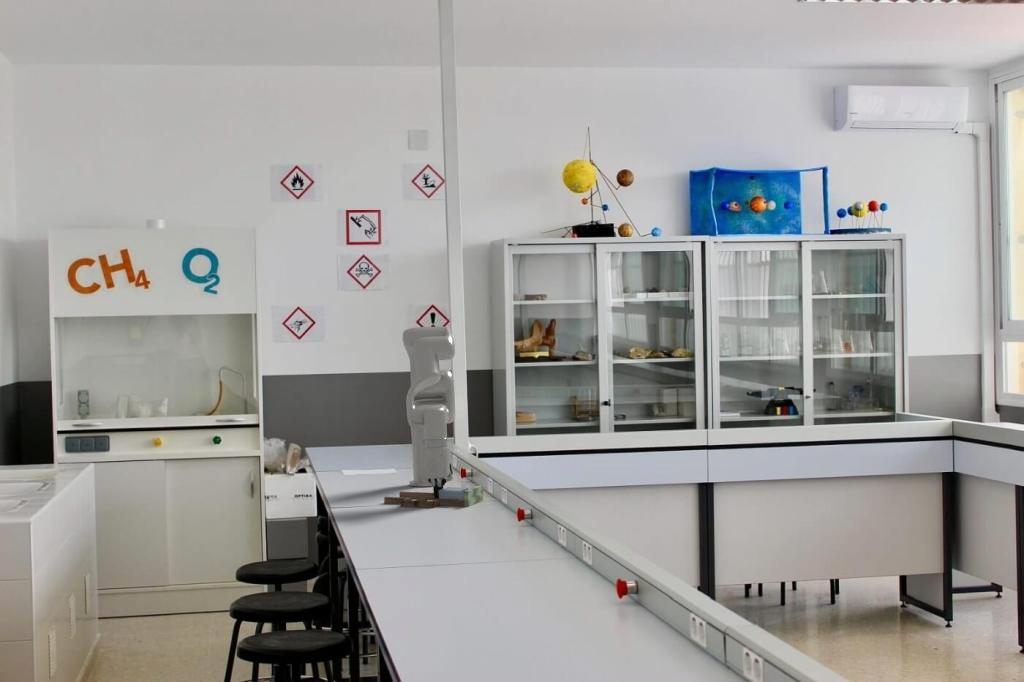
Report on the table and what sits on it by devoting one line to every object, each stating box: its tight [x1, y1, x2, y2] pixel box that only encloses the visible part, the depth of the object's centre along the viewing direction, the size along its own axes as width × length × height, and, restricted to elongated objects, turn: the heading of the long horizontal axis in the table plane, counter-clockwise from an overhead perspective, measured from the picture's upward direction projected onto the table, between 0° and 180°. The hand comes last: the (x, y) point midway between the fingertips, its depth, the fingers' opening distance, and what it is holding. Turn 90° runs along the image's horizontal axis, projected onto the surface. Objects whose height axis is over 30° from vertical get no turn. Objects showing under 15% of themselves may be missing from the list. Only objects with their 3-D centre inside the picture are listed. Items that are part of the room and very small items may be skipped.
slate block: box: [439, 486, 470, 500], centre depth 368 cm, size 6×8×5 cm
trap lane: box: [383, 485, 485, 509], centre depth 370 cm, size 16×32×5 cm, turn 66°
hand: (438, 498), depth 371 cm, fingers closed
